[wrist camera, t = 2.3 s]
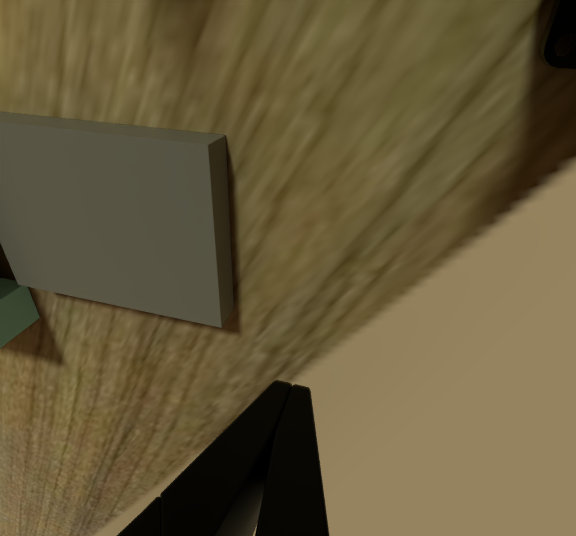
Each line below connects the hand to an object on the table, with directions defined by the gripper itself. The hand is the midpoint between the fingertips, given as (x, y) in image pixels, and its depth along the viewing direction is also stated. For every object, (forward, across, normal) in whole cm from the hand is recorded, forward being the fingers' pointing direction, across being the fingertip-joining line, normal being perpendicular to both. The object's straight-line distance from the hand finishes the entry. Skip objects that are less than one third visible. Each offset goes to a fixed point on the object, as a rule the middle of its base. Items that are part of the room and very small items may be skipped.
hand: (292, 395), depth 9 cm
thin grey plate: (+7, +10, 0) cm, 13 cm away
